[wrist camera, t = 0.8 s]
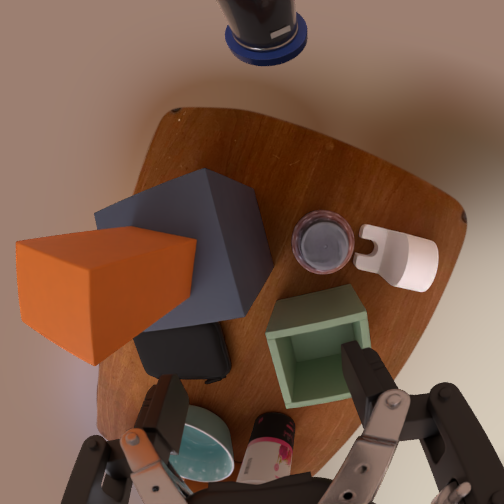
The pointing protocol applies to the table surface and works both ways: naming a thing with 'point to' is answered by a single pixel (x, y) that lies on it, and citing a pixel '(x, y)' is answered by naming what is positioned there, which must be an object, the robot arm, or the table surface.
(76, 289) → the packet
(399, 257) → the cable organizer
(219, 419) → the bowl
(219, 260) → the stand
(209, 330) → the carrying case
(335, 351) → the open box
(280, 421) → the beverage can
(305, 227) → the supplement bottle
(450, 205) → the table surface
